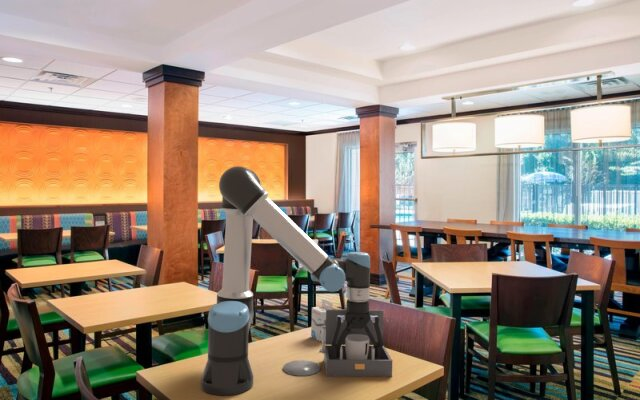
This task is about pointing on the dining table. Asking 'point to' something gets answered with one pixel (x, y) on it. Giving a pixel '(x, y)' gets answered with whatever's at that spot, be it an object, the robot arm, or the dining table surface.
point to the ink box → (319, 320)
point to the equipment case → (345, 367)
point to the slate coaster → (301, 368)
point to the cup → (357, 347)
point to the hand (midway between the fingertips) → (356, 367)
